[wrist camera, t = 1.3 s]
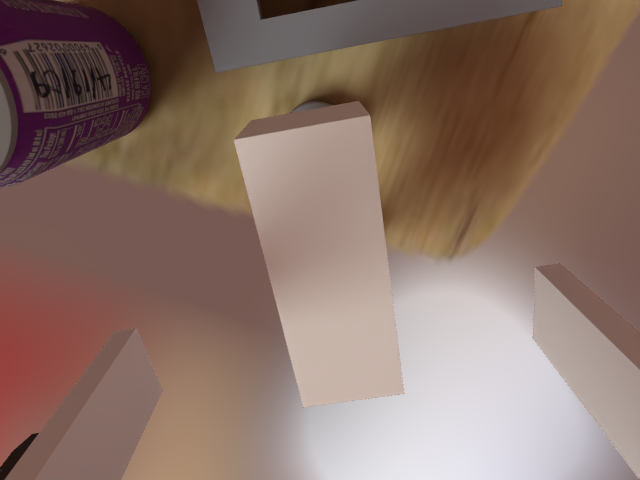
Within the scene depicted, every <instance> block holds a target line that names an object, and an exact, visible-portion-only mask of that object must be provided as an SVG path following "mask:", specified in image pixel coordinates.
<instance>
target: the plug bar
mask: <svg viewBox="0 0 640 480" xmlns="http://www.w3.org/2000/svg"><path fill="white" fill-rule="evenodd" d="M234 143H235V147H236V150H237V154H238V158H239V162H240V166H241V170H242V173H243V177H244V181H245V185H246V189H247V193H248V197H249V200H250V204H251V208H252V212H253V216H254V220H255V223H256V227H257V231H258V235H259V239H260V242H261V247H262V250H263V254H264V258H265V262H266V266H267V270H268V274H269V277H270V281H271V285H272V289H273V293H274V297H275V300H276V304H277V308H278V312H279V316H280V320H281V323H282V327H283V331H284V335H285V339H286V342H287V347H288V350H289V354H290V358H291V362H292V366H293V370H294V374H295V377H296V381H297V385H298V389H299V392H300V397H301V400H302V404H303V407H311V406H318V405H326V404H333V403H341V402H348V401H355V400H363V399H370V398H377V397H385V396H392V395H400V394H404V388H403V380H402V372H401V363H400V355H399V347H398V340H397V331H396V323H395V314H394V306H393V298H392V291H391V282H390V274H389V266H388V257H387V249H386V241H385V233H384V225H383V217H382V209H381V200H380V192H379V184H378V176H377V168H376V160H375V152H374V143H373V135H372V127H371V119H370V114H369V113H368V112H367V111H366V109H365V108H364V107H363V105H362V104H361V103H360V102H359V101H355V102H350V103H344V104H339V105H332V104H330V103H328V102H324V101H319V100H314V101H308V102H305V103H302V104H300V105H299V106H297V107H296V108H295V109H294V110H293V111H292V112H291V113H290V114H284V115H279V116H274V117H268V118H263V119H257V120H252V121H251V122H250V123H249V124H248V125H247V126H246V127H245V128H244V129H243V130H242V131H241V132H240V134H239V135H238V136H237V137H236V138H235V139H234Z"/></svg>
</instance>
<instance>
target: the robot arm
mask: <svg viewBox="0 0 640 480" xmlns="http://www.w3.org/2000/svg"><path fill="white" fill-rule="evenodd" d="M533 339H534V340H535V342H536V343H537V344H538V346H539V347H540V348H541V349H542V351H543V352H544V354H545V355H546V356H547V357H548V359H549V360H550V362H551V363H552V364H553V365H554V367H555V368H556V369H557V371H558V372H559V374H560V375H561V376H562V377H563V379H564V380H565V382H566V383H567V384H568V386H569V387H570V388H571V389H572V391H573V392H574V393H575V395H576V396H577V397H578V399H579V400H580V401H581V403H582V404H583V405H584V407H585V408H586V409H587V411H588V412H589V413H590V415H591V416H592V417H593V419H595V421H596V423H597V424H598V425H599V427H600V428H601V429H602V430H603V432H604V433H605V435H606V436H607V437H608V438H609V440H610V441H611V442H612V444H613V445H614V447H615V448H616V449H617V451H618V452H619V453H620V454H621V456H622V457H623V458H624V460H625V461H626V462H627V464H628V465H629V466H630V468H631V469H632V470H633V472H634V473H635V474H636V476H637V477H638V478H639V480H640V332H639V331H638V330H637V329H635V328H634V327H633V326H632V325H631V324H630V323H628V322H627V321H626V320H625V319H624V318H623V317H622V316H620V315H619V314H618V313H617V312H616V311H615V310H613V309H612V308H611V307H610V306H609V305H608V304H606V303H605V302H604V301H603V300H602V299H600V297H598V296H597V295H596V294H595V293H593V291H591V290H590V289H589V288H588V287H587V286H586V285H584V284H583V283H582V282H581V281H580V280H579V279H578V278H576V277H575V276H574V275H573V274H572V273H571V272H570V271H568V270H567V269H566V268H565V267H564V266H563V265H561V264H560V263H559V264H553V265H546V266H540V267H535V288H534V317H533ZM162 391H163V390H162V388H161V385H160V383H159V380H158V378H157V376H156V374H155V371H154V369H153V366H152V364H151V362H150V359H149V357H148V354H147V352H146V350H145V347H144V345H143V343H142V341H141V338H140V336H139V333H138V331H137V329H136V328H133V329H126V330H120V331H114V333H113V334H112V335H111V337H110V338H109V340H108V341H107V342H106V343H105V345H104V346H103V347H102V349H101V350H100V351H99V353H98V354H97V356H96V357H95V358H94V360H93V361H92V362H91V364H90V365H89V366H88V368H87V369H86V370H85V372H84V373H83V374H82V376H81V377H80V378H79V380H78V381H77V383H76V384H75V385H74V387H73V388H72V389H71V391H70V392H69V393H68V395H67V396H66V397H65V399H64V400H63V402H62V403H61V404H60V405H59V407H58V409H57V410H56V411H55V412H54V414H53V415H52V416H51V418H50V419H49V420H48V422H47V423H46V425H45V426H44V427H43V429H42V430H41V431H40V432H39V433H36V434H32V435H31V436H30V437H28V438H27V439H26V440H25V441H24V442H23V443H22V444H21V445H19V446H18V447H17V448H16V449H15V450H14V451H13V452H12V453H11V454H10V456H9V457H8V458H7V460H6V461H5V462H4V463H3V465H2V466H1V467H0V480H121V479H122V476H123V474H124V472H125V470H126V468H127V466H128V463H129V461H130V459H131V457H132V455H133V453H134V451H135V448H136V446H137V444H138V442H139V440H140V438H141V436H142V433H143V431H144V429H145V427H146V425H147V423H148V421H149V419H150V416H151V414H152V412H153V410H154V408H155V406H156V404H157V401H158V399H159V397H160V395H161V393H162Z"/></svg>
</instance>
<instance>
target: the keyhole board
mask: <svg viewBox="0 0 640 480" xmlns="http://www.w3.org/2000/svg"><path fill="white" fill-rule="evenodd" d="M197 3H198V7H199V10H200V14H201V18H202V22H203V26H204V30H205V33H206V37H207V41H208V45H209V49H210V53H211V56H212V60H213V64H214V68H215V72H216V73H218V72H223V71H228V70H233V69H238V68H243V67H249V66H254V65H259V64H264V63H269V62H274V61H280V60H285V59H290V58H295V57H300V56H306V55H311V54H316V53H321V52H326V51H331V50H337V49H342V48H347V47H352V46H357V45H362V44H368V43H373V42H378V41H383V40H388V39H393V38H399V37H404V36H409V35H414V34H419V33H425V32H430V31H435V30H440V29H445V28H450V27H456V26H461V25H466V24H471V23H476V22H481V21H487V20H492V19H497V18H502V17H507V16H513V15H518V14H523V13H528V12H533V11H538V10H544V9H549V8H554V7H559V6H562V0H357V1H352V2H347V3H342V4H337V5H332V6H327V7H322V8H317V9H312V10H307V11H302V12H297V13H292V14H287V15H282V16H277V17H272V18H267V19H263V18H262V13H261V8H260V4H259V0H197Z"/></svg>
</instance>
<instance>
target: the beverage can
mask: <svg viewBox="0 0 640 480" xmlns="http://www.w3.org/2000/svg"><path fill="white" fill-rule="evenodd" d="M150 98H151V78H150V73H149V68H148V65H147V62H146V59H145V57H144V55H143V53H142V51H141V49H140V47H139V46H138V44H137V43H136V41H135V40H134V38H133V37H132V36H131V35H130V33H129V32H128V31H127V30H126V29H125V28H124V27H123V26H122V25H121V24H119V23H118V22H117V21H116V20H114V19H113V18H111V17H110V16H108V15H107V14H105V13H103V12H101V11H99V10H96V9H94V8H91V7H87V6H83V5H77V4H72V3H66V2H60V1H55V0H0V188H4V187H8V186H12V185H15V184H18V183H20V182H23V181H25V180H27V179H29V178H32V177H34V176H36V175H38V174H40V173H43V172H45V171H47V170H49V169H52V168H54V167H56V166H58V165H60V164H63V163H65V162H67V161H69V160H72V159H74V158H76V157H78V156H80V155H83V154H85V153H87V152H89V151H92V150H94V149H96V148H98V147H100V146H103V145H105V144H107V143H109V142H112V141H114V140H116V139H118V138H120V137H123V136H125V135H126V134H128V133H130V132H131V131H132V130H134V129H135V128H136V127H137V126H138V125H139V123H140V122H141V121H142V119H143V118H144V116H145V114H146V112H147V109H148V107H149V103H150Z"/></svg>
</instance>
